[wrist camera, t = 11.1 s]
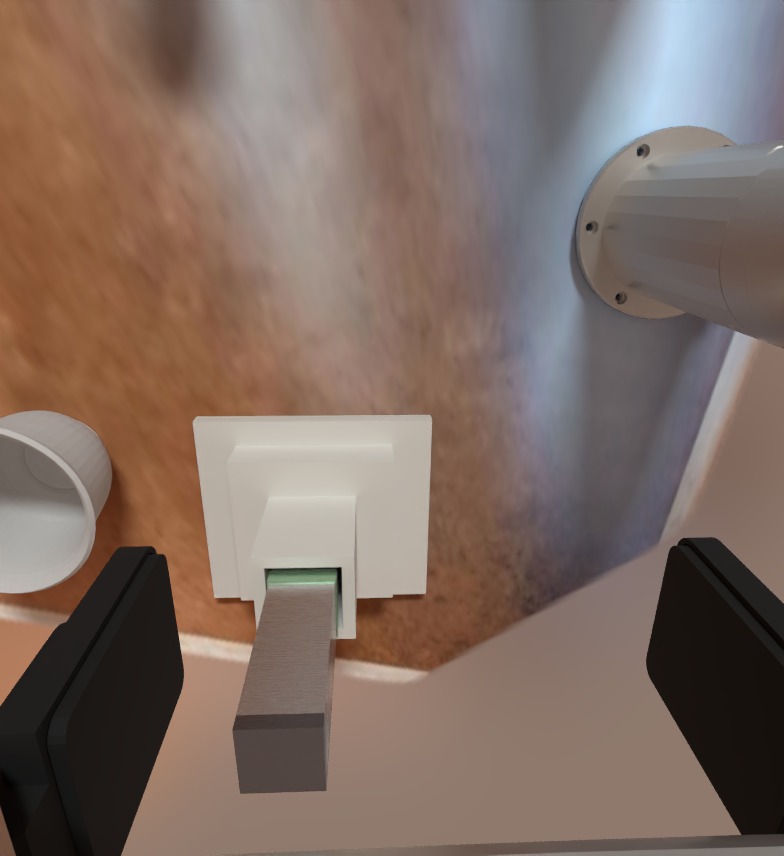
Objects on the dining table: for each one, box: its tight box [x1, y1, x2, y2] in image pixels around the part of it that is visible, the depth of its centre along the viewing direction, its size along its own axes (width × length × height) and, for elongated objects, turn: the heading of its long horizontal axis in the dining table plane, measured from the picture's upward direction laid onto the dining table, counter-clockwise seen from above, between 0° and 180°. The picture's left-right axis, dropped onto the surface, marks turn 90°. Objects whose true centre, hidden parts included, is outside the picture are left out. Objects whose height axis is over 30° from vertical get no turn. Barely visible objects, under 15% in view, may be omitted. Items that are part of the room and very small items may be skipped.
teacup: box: [0, 411, 112, 594], centre depth 42 cm, size 12×15×10 cm
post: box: [233, 567, 340, 794], centre depth 35 cm, size 4×4×17 cm
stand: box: [193, 415, 432, 639], centre depth 43 cm, size 18×16×13 cm
